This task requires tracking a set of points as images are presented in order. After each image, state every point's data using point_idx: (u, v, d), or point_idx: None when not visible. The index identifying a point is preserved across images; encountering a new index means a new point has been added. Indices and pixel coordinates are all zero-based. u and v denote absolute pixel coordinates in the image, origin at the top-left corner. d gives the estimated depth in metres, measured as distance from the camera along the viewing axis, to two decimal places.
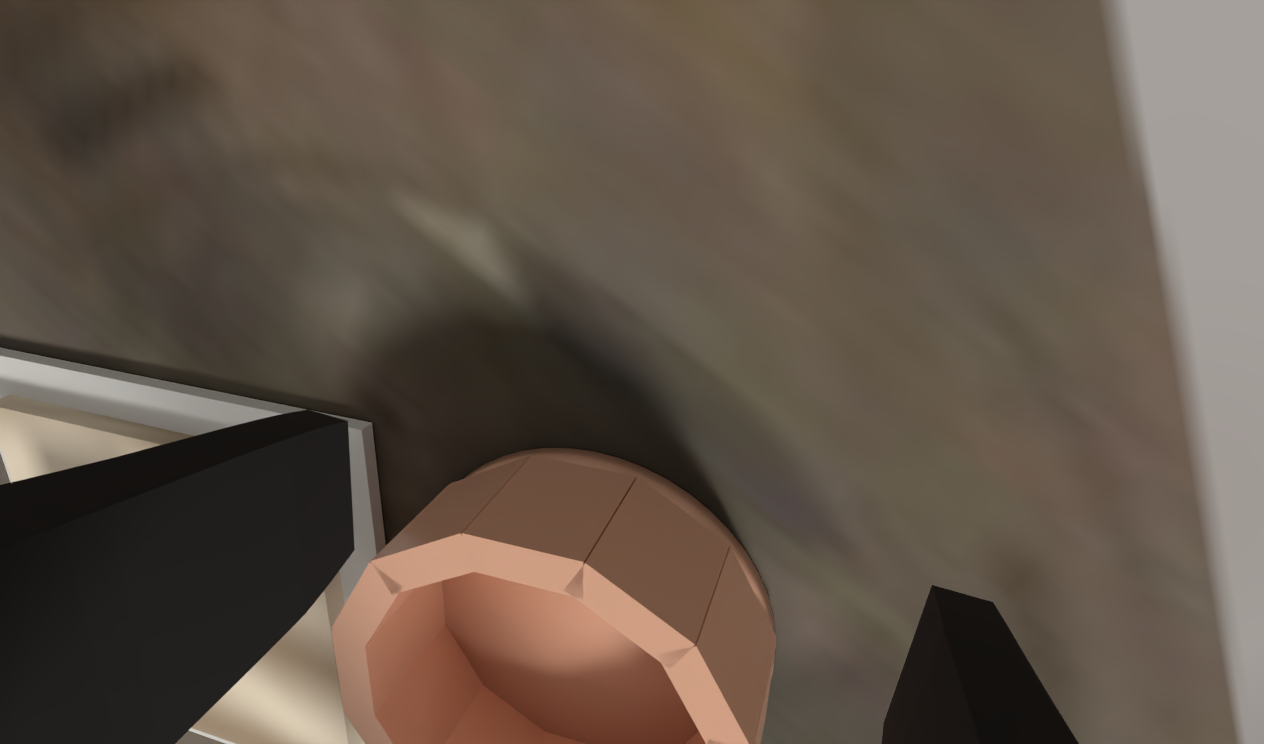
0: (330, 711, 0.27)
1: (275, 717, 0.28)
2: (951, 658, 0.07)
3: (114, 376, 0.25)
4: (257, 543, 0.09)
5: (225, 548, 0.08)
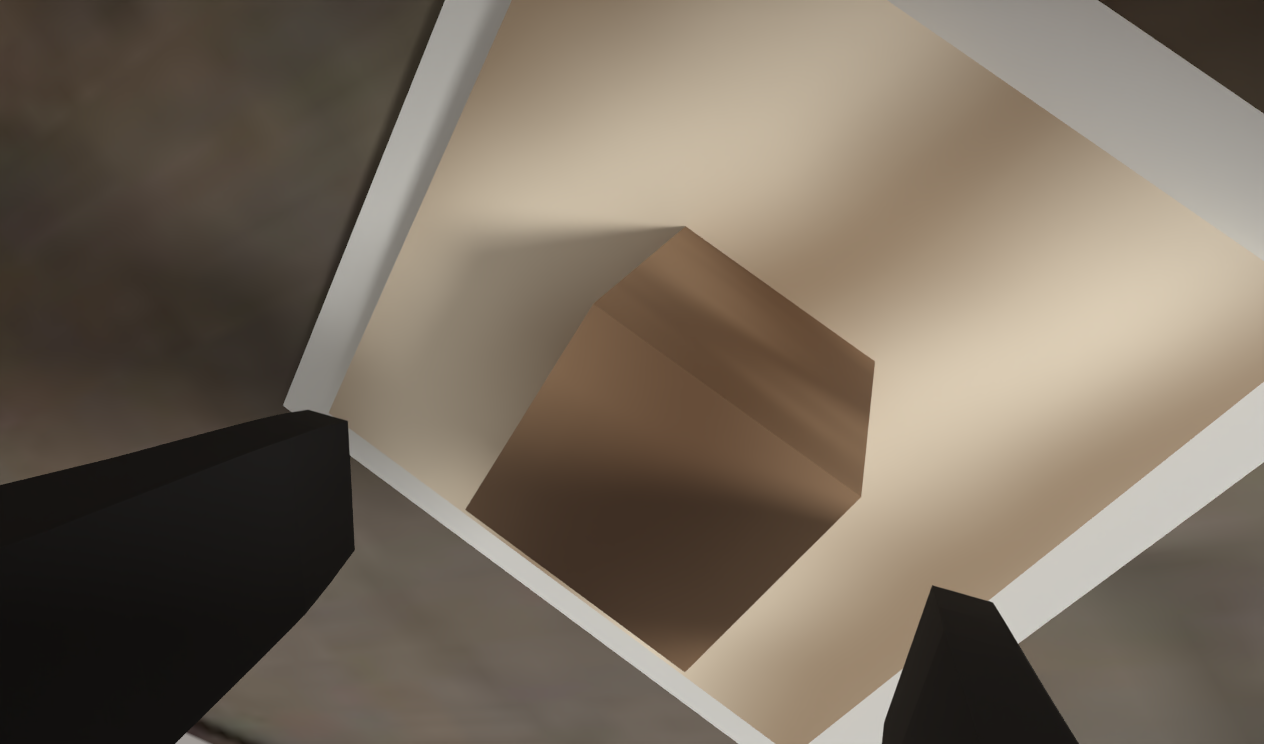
0: (1110, 207, 0.11)
1: (1049, 381, 0.12)
2: (951, 658, 0.07)
3: (375, 185, 0.16)
4: (257, 543, 0.09)
5: (225, 547, 0.08)
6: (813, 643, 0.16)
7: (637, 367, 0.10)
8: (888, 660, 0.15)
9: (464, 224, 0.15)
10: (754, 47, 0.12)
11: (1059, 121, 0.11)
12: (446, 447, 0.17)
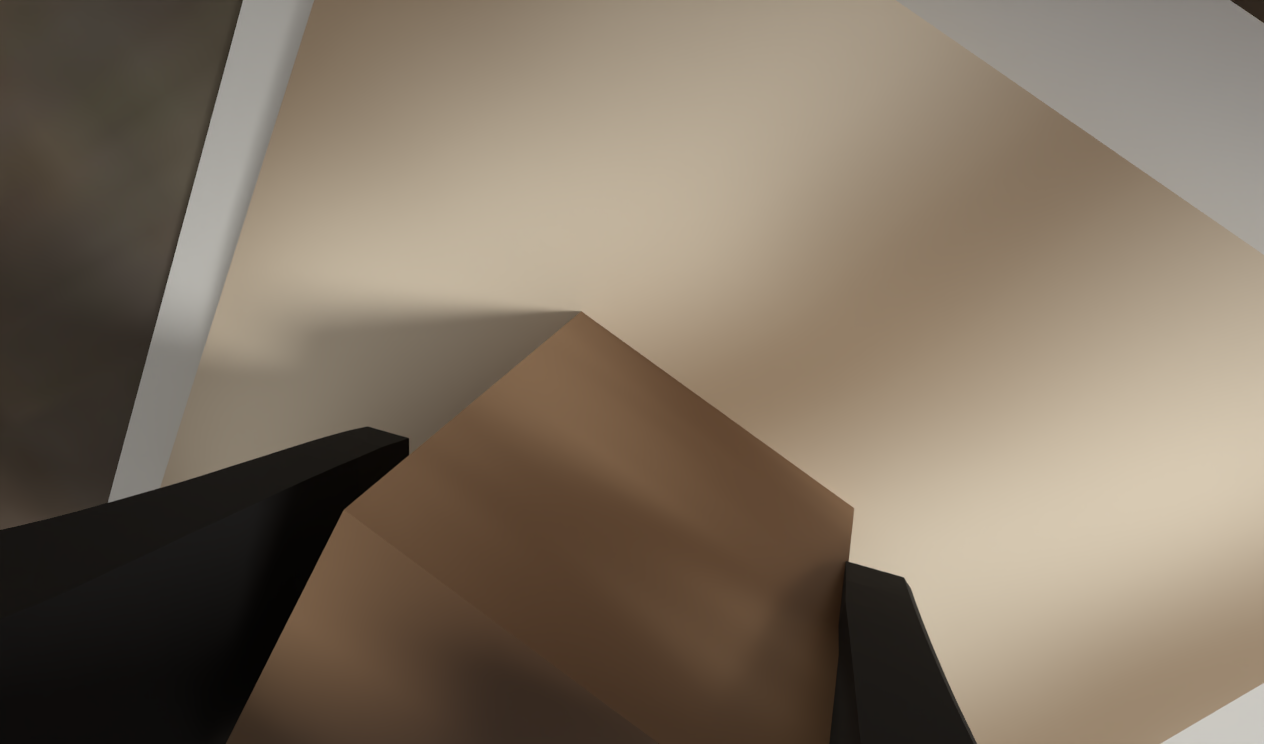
0: (1218, 305, 0.07)
1: (1111, 550, 0.08)
2: None
3: (187, 236, 0.12)
4: None
5: (295, 571, 0.08)
6: None
7: (428, 618, 0.06)
8: None
9: (286, 298, 0.11)
10: (667, 54, 0.08)
11: (1140, 172, 0.07)
12: None
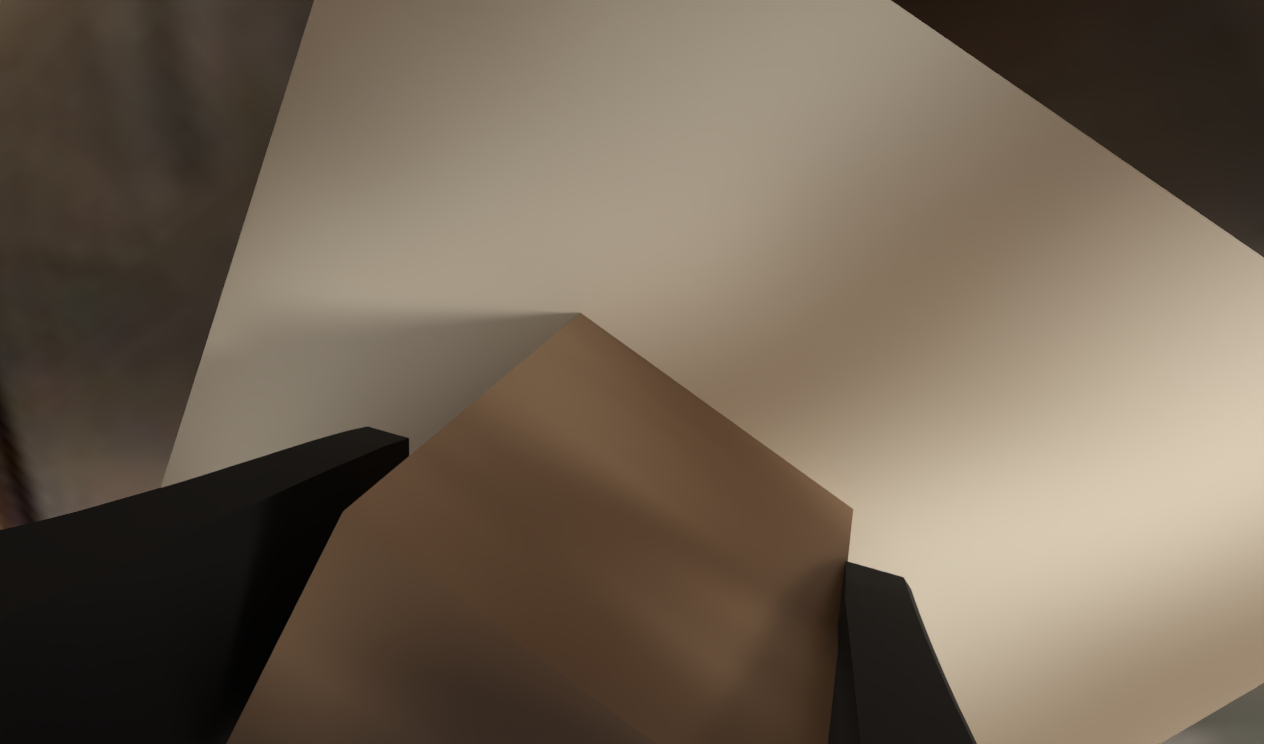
0: (1216, 307, 0.07)
1: (1110, 551, 0.08)
2: None
3: None
4: None
5: (294, 571, 0.08)
6: None
7: (427, 618, 0.06)
8: None
9: (286, 300, 0.11)
10: (666, 56, 0.08)
11: (1137, 173, 0.07)
12: None
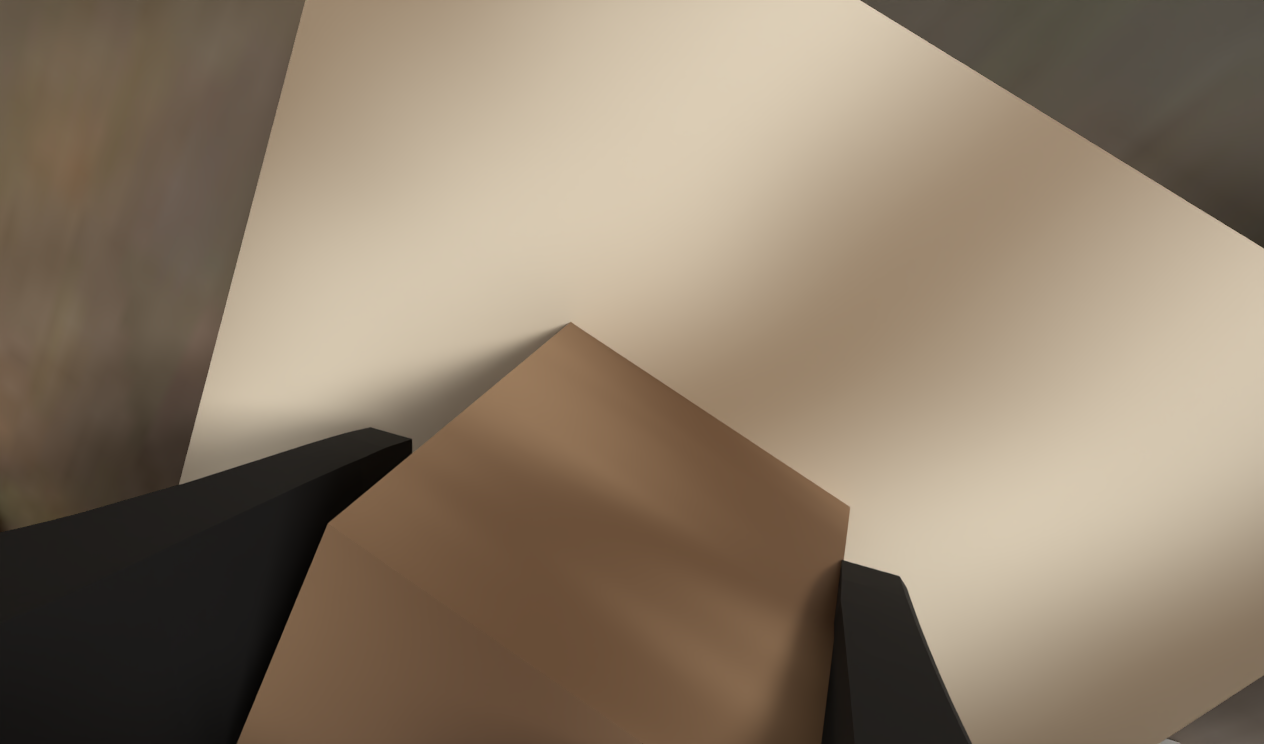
0: (1200, 288, 0.07)
1: (1110, 540, 0.08)
2: (844, 626, 0.07)
3: None
4: None
5: (298, 572, 0.08)
6: None
7: (414, 627, 0.06)
8: None
9: (284, 322, 0.11)
10: (640, 65, 0.08)
11: (1113, 158, 0.07)
12: None
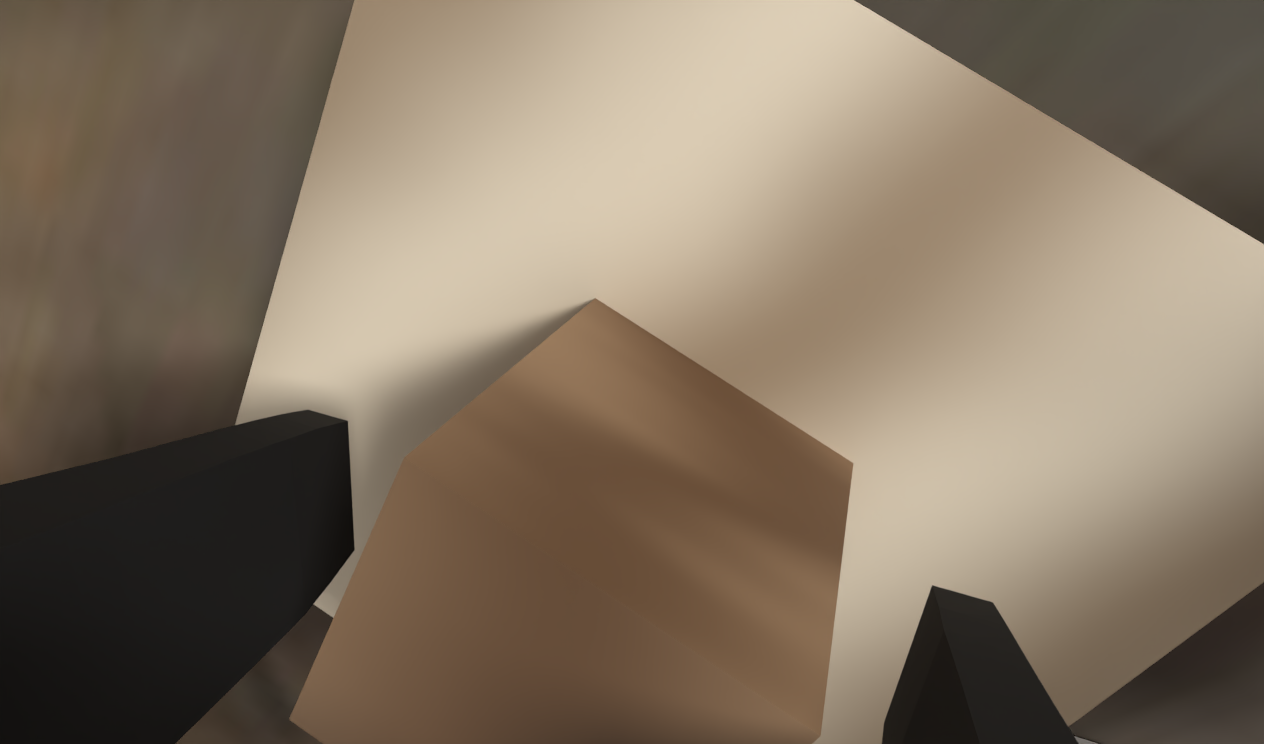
0: (1162, 254, 0.08)
1: (1089, 486, 0.09)
2: (951, 658, 0.07)
3: None
4: (257, 543, 0.09)
5: (225, 547, 0.08)
6: None
7: (478, 547, 0.06)
8: None
9: (328, 304, 0.12)
10: (659, 62, 0.09)
11: (1082, 139, 0.08)
12: (343, 569, 0.14)
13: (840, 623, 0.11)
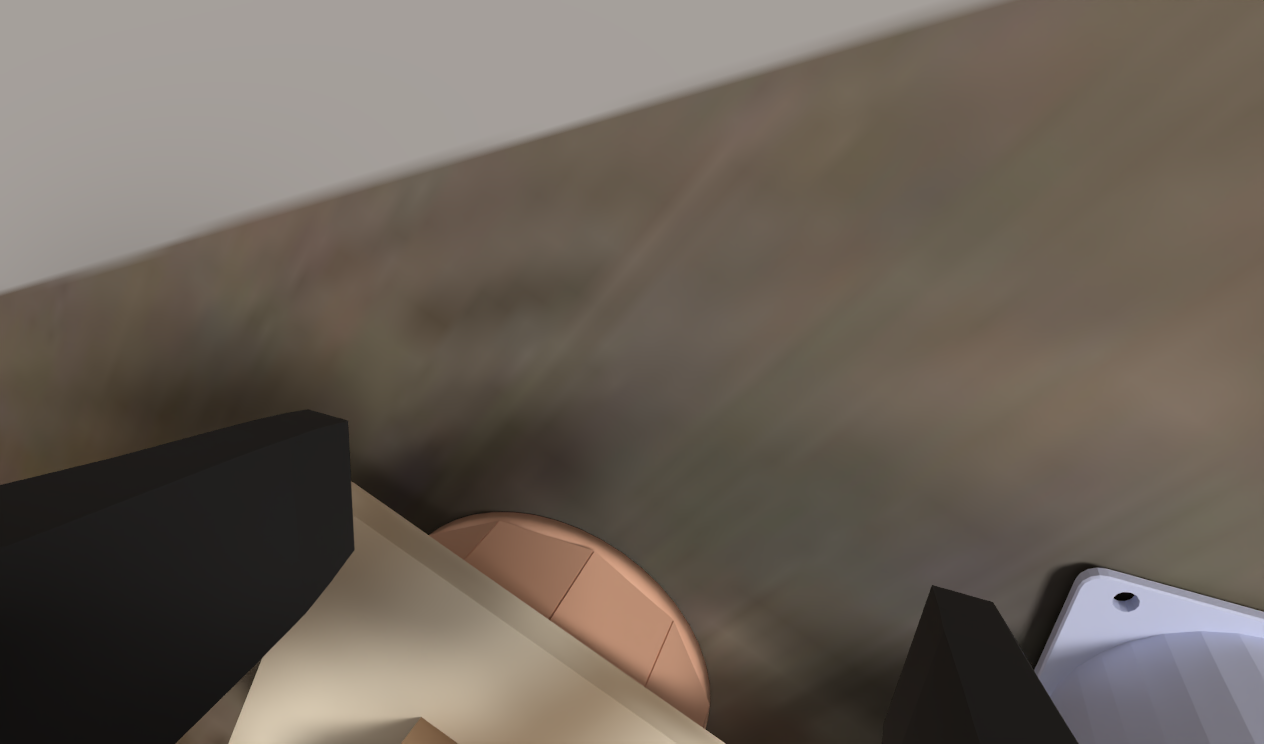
0: None
1: None
2: (951, 658, 0.07)
3: None
4: (257, 543, 0.09)
5: (226, 547, 0.08)
6: None
7: None
8: None
9: (285, 689, 0.21)
10: (440, 632, 0.18)
11: (621, 704, 0.17)
12: None
13: None
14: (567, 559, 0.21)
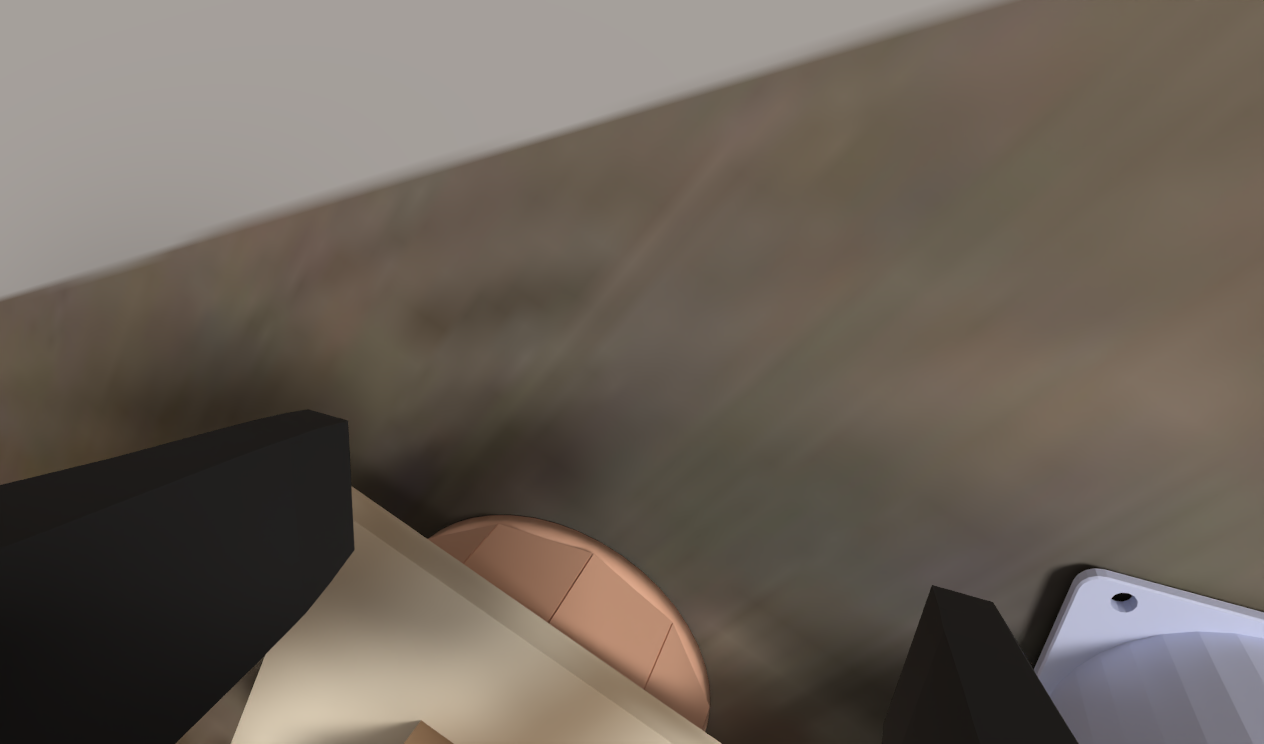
0: None
1: None
2: (951, 658, 0.07)
3: None
4: (257, 543, 0.09)
5: (225, 547, 0.08)
6: None
7: None
8: None
9: (285, 693, 0.21)
10: (439, 636, 0.18)
11: (620, 707, 0.17)
12: None
13: None
14: (566, 562, 0.21)
